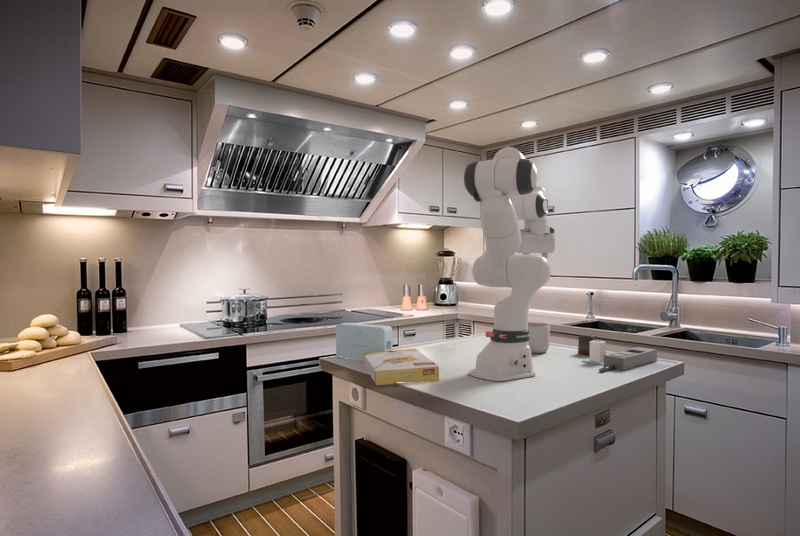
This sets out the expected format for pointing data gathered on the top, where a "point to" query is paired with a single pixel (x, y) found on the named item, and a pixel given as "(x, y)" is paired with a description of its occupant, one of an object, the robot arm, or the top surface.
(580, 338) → the electronic device
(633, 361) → the power strip
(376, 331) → the light blue box
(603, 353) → the block
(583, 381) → the top surface
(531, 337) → the planter
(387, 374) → the cereal box
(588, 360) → the mat
